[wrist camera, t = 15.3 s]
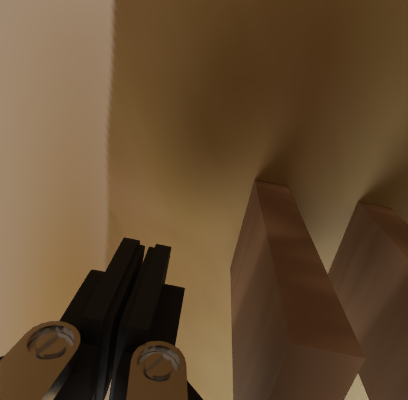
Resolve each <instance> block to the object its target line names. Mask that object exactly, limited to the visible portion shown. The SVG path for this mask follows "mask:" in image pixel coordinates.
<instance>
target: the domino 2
mask: <svg viewBox="0 0 408 400" xmlns="http://www.w3.org/2000/svg"><path fill="white" fill-rule="evenodd" d="M328 277H329V279H330V281H331V283H332V285H333V288H334V290H335V292H336V294H337V296H338V299H339V301H340V303H341V305H342V307H343V310H344V312H345V314H346V316H347V318H348V321H349V323H350V325H351V327H352V329H353V332H354V334H355V336H356V338H357V340H358V343H359V345H360V347H361V349H362V351H363V354H364V356H365V358H366V359H365V360H364V362H363V364H362V366H361V368H360V370H359V372H358V373H359V376H360V378H361V381H362V383H363V386H364V388H365V391H366V393H367V395H368V398H369V400H408V225H407V224H406V223H405V222H404V221H403V220H402V219H401V218H400V217H399V216H398V215H397V214H396V213H395V212H394V211H393V210H392V209H391V208H386V207H381V206H376V205H372V204H367V203H362V202H358V203H357V205H356V208H355V210H354V212H353V215H352V217H351V220H350V222H349V224H348V227H347V229H346V232H345V234H344V237H343V239H342V241H341V244H340V246H339V249H338V251H337V254H336V256H335V258H334V261H333V263H332V266H331V268H330V271H329V273H328Z"/></svg>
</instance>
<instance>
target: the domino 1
mask: <svg viewBox="0 0 408 400" xmlns="http://www.w3.org/2000/svg"><path fill="white" fill-rule="evenodd" d="M230 272H231V315H232V358H233V400H344V399H345V397H346V395H347V393H348V391H349V389H350V387H351V385H352V383H353V381H354V379H355V378H356V376H357V374H358V372H359V370H360V368H361V366H362V364H363V362H364V360H365V359H366V358H365V356H364V354H363V351H362V349H361V347H360V345H359V343H358V340H357V338H356V336H355V334H354V332H353V329H352V327H351V325H350V323H349V321H348V318H347V316H346V314H345V312H344V310H343V307H342V305H341V303H340V301H339V299H338V296H337V294H336V292H335V290H334V288H333V285H332V283H331V281H330V279H329V277H328V274H327V272H326V270H325V268H324V266H323V263H322V261H321V259H320V257H319V255H318V252H317V250H316V248H315V246H314V243H313V241H312V239H311V237H310V235H309V232H308V230H307V228H306V226H305V224H304V221H303V219H302V217H301V215H300V213H299V210H298V208H297V206H296V204H295V202H294V199H293V197H292V195H291V193H290V191H289V188H288V187H286V186H281V185H276V184H272V183H267V182H262V181H257V180H254V184H253V188H252V191H251V195H250V198H249V202H248V206H247V209H246V213H245V217H244V220H243V224H242V227H241V231H240V235H239V238H238V242H237V246H236V249H235V253H234V257H233V260H232V264H231V267H230Z"/></svg>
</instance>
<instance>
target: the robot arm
mask: <svg viewBox="0 0 408 400" xmlns="http://www.w3.org/2000/svg"><path fill="white" fill-rule="evenodd" d="M144 250H145V246H143V245H140V240H135V239H130V238H123V240H122V242H121V244H120V246H119V247H118V249H117V251H116V253H115V255H114V257H113V258H112V260H111V262H110V264H109V266H108V268H107V269H106V271H105V272H103V271H98V270H91V271H90V272H89V274H88V275H87V277H86V279H85V281H84V282H83V283H82V285H81V287H80V288H79V290H78V292H77V293H76V295H75V296H74V298H73V300H72V301H71V303H70V305H69V306H68V308H67V310H66V311H65V313H64V314H63V316H62V318H61V319H60V321H51V322H46V323H42V324H40V325H37V326H35V327H33V328H32V329H31V330H29V331H28V332H27V333H26V334H25V335H24V336H23V337H22V338H21V339H20V340H19V341H18V342H17V343H16V345H14V346H13V347H12V349H11V350H10V351H9V352H8V353H7V354H6V355H5V356H2V357H0V400H104V399H105V396H106V394H107V391H108V388H109V385H110V382H111V388H110V396H109V400H203V399H202V398H201V397H200V395H199V394H198V393H197V392H196V391H195V389H194V388H193V387H192V386H191V385H190V383H189V382H188V381H187V371H186V361H185V357H184V356H183V354H182V352H181V351H180V350H179V349H178V348H177V347H175V342H176V337H177V331H178V325H179V319H180V313H181V308H182V302H183V296H184V290H185V288H183V287H178V286H173V285H168V284H165V279H166V274H167V268H168V263H169V258H170V252H171V247H169V246H164V245H159V244H156V246H155V248H153V247H149V249H148V251H147V254H146V256H145V259H144V261H143V257H144ZM142 263H143V264H142ZM111 379H112V381H111Z"/></svg>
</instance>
